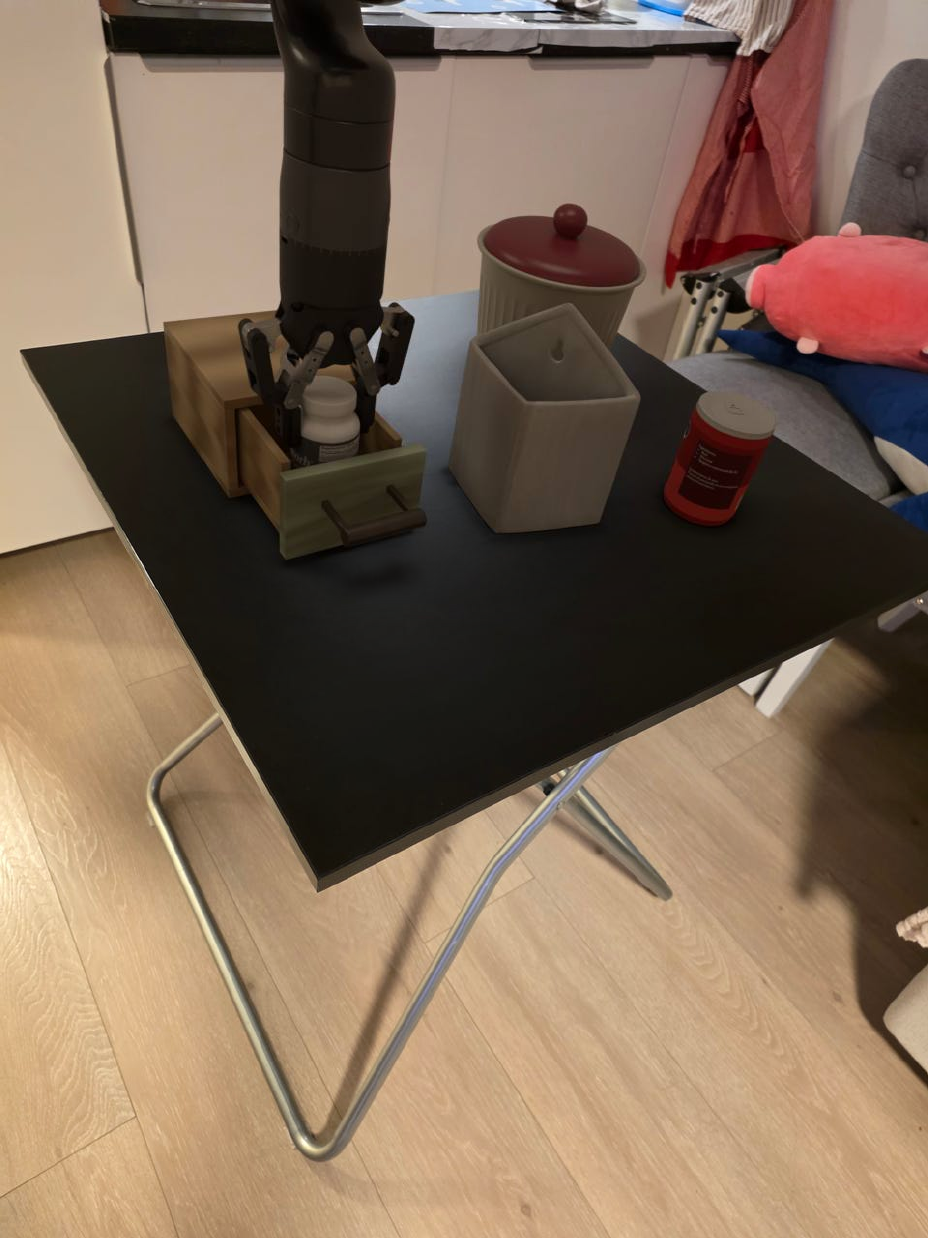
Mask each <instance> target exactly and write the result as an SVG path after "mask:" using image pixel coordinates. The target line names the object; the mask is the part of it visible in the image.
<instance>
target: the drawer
mask: <svg viewBox="0 0 928 1238" xmlns="http://www.w3.org/2000/svg"><path fill="white" fill-rule="evenodd" d="M298 406H299V404H298ZM235 430H236V451H237V473H238V476H239V477H240V478H241V480H242V481H243V483H244V484H245V485H246V487H247V488H248V490H249V491H250V492H251V494H250V495H251V496H252V497H253V499H254V500H255V501H256V503H257V504H258V505H259V507H260V508H261V509H262V511H263V513H265V515H266V517H267V518H268V519H269V521H270V522H271V524H272V525H273V526H274V528H275V529H276V531H277V532H278V533H279V553H280V555H282V557H283V558H284V560H285V561H288V560H291V559H295V558H299V557H302V556H307V555H310V554H313V553H317V552H322V551H325V550H328V549H332V548H336V547H339V546H344V547H345V548H351V547H354V546H358V545H362V544H365V543H370V542H373V541H377V540H380V539H381V540H382V539H384V538H388V537H391V536H395V535H400V534H402V533H406V532H410V531H414V530H417V529H421V528H424V527H426V526H427V523H428V519H427V515H426V512H425V510H424V509H423V508H422V507H420V501H421V494H422V488H423V487H422V486H423V479H424V474H425V473H424V472H425V466H426V458H427V452H428V451H427V449H426V448H425V446H424V445H422V444H421V443H420V442H419V443H414V444H409V445H405V446H404V445H403V437H402V436H401V435H400V434H399V433H398V432H397V431H396V430H395V428H394V427H392V426H391V425H390V424H389V422H387V420H386V419H385V418H384V417H383V416H382V415H380V413H379V412H378V411H377V410H375V421H374V423H373V425H372V426H369V432H368V433H366V434H361V435H359V445H358V456H356V457H351V458H346V459H342V460H337V461H332V462H327V463H323V464H318V465H313V466H308V467H304V468H299V469H294V470H290V469H291V461H290V447H289V446H288V444H287V443H285V442H284V441H283V440H282V439H281V437H280V436H279V435H278V434H277V432H276V429H275V404H273V405H271V406H266V405H265V404H260V405H254V406H248V407H242V408H236V409H235ZM402 445H403V446H402Z"/></svg>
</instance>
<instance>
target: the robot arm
mask: <svg viewBox="0 0 928 1238" xmlns="http://www.w3.org/2000/svg"><path fill="white" fill-rule="evenodd" d="M405 1H406V0H268V2H269V6H270V12H271V18H272V24H273V28H274V33H275V39H276V42H277V47H278V50H279V55H280V58H281V63H282V64H281V65H282V69H283V93H282V95H283V96H282V98H283V101H282V104H283V105H282V107H283V108H282V109H283V110H282V111H283V112H282V115H283V117H282V118H283V119H282V120H283V121H282V122H283V123H282V125H283V126H282V144H283V145H282V146H283V148H282V161H281V168H280V174H279V189H278V191H279V196H278V197H279V199H278V201H279V203H278V205H279V207H278V208H279V210H278V211H279V212H278V213H279V214H278V215H279V218H278V219H279V225H278V226H279V227H278V229H279V231H278V232H279V234H278V237H279V238H278V239H279V241H278V242H279V247H278V249H279V251H278V252H279V254H278V255H279V258H278V259H279V262H278V263H279V264H278V265H279V267H278V268H279V269H278V271H279V272H278V275H279V276H278V280H279V281H278V282H279V292H280V293H279V294H280V299H279V304H278V307H277V309H276V310H277V311H276V313H275V317H274V318H270V319H267V320H263V321H260V322H256V323H254V322H253V321H252V320H250V319H248V318H245V319H242V320H241V321H240V322H239V324H238V331H239V335H240V340H241V345H242V350H243V355H244V359H245V364H246V369H247V374H248V379H249V383H250V387H251V389H252V390H253V391H254V392H255V393H256V394H257V395H258V396H259V398H260V399H261V401H262V402H263V403H264V404H265V405H266V406H271V405H273V404H275V429H276V432H277V434H278V435H279V436H280V437H281V439H282V440H283V441H284V442H285V443H287V444H288V446H289V447H290V448H295V447H299V446H300V436H301V408H300V407H299V406H298V404H299V402H300V399H301V397H302V395H303V393H304V390H305V388H306V386H307V385H311V384H312V382H313V380H314V378H315V375H316V373H317V371H318V369H323V368H327V367H329V366H332V365H343V366H344V365H349V366H350V369H351V371H352V374H353V376H354V379H355V380H356V381H357V384H353V385H352V386H353V387H354V388H355V390H356V393H357V398H356V407H355V409H354V412H355V413H356V414H357V416H358V418H359V421H360V435H361V434H366V433H368V432H369V426H372V425H373V423H374V421H375V411H376V409H377V398H378V397H377V396H378V395H379V393H380V392H381V389H382V388H383V387H385V386H387V385H390V386H396V385H398V383H400V380H401V377H402V373H403V369H404V366H405V362H406V358H407V355H408V351H409V346H410V342H411V338H412V335H413V331H414V327H415V323H416V319H415V317H414V316H413V314H411V313H410V312H409V311H407V310H406V309H405V308H404V307H403V306H402V305H400V304H399V302H397V301H395V302H393V301H392V302H391V303H390V304H388V306H382V305H381V299H382V297H383V295H384V288H385V287H384V286H385V275H386V263H387V253H388V241H389V229H390V222H391V208H392V207H391V206H392V182H391V165H392V163H391V160H392V150H393V139H394V126H395V115H396V101H397V80H396V75H395V71H394V68H393V66H392V65H391V63H390V61H388V59H386V57H385V56H384V55H383V54H382V53H381V52H379V50H377V48H376V47H375V46H374V45H373V43H372V42H371V41H370V40H369V38H368V36H367V34H366V30H365V25H364V21H363V20H364V19H363V13H362V5H361V3H363V4H365V5H369V6H376V7H391V6H394V5H399V4H400V3H403V2H405ZM379 329H380V331H381V332H380V337H379V340H378V346H377V349H376V354H375V358H373V355H372V353H371V349H370V348H369V345H368V344H369V343H370V342H371V340H372V339H373V337H374V335H375V334H376V333H377V331H378V330H379ZM281 334H282V336H283V337H284V338H285V340H286V341H287V343H286V346H285V348H284V350H283V353H282V355H281V357H280V369H279V371H278V374H277V376H276V378H275V381H274V375H273V370H272V364H271V359H270V353H273V352H274V350H275V349H274V348H275V341H276V338H277V337H278V336H279V335H281ZM299 358H301V359H302V360H303V361H302V364H300V361H299Z"/></svg>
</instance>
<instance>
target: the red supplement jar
mask: <svg viewBox="0 0 928 1238" xmlns="http://www.w3.org/2000/svg"><path fill="white" fill-rule="evenodd" d="M777 424H778V423H777V418H776V417H775V415H774V414H773V413H772V411H771V410H770V409H769V408H767V407H766V406H765V405H764V404H762V403H761V402H759V401H757V400H755V399H753V398H751V397H749V396H746V395H744V394H741V393H737V392H734V391H727V390H710V391H706V392H704V393H702V394H701V395H700V396H699V398H698V400H697V402H696V404H695V406H694V409H693V412H692V414H691V416H690V419H689V421H688V424H687V426H686V429H685V432H684V435H683V437H682V439H681V442H680V445H679V446H678V449H677V452H676V455H675V457H674V460H673V462H672V465H671V467H670V470H669V473H668V475H667V477H666V480H665V483H664V485H663V486H664V487H663V499H664V500H663V501H664V502H665V504H666V506H667V507H668V508H669V509H670V511H672V512H673V513H674V514H675V515H676V516H678V517H680V518H681V519H684V520H685V521H687V522H689V523H692V524H695V525H698V526H704V527H717V526H721V525H724V524H725V523H727V522H729V521H730V519H731V518H732V517H733V516H735V513H736V512H737V510H738V508H739V505H740V503H741V502H742V499H743V497H744V495H745V493H746V491H747V489H748V487H749V485H750V483H751V481H752V479H753V477H754V475H755V473H756V470H757V469H758V466H759V464H760V463H761V460H762V459H763V457H764V454H765V452H766V450H767V449H768V446H769V444H770V442H771V440H772V438H773V435H774V433H775V430H776V428H777Z"/></svg>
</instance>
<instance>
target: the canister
mask: <svg viewBox="0 0 928 1238" xmlns="http://www.w3.org/2000/svg"><path fill="white" fill-rule="evenodd" d="M588 220H589V218H588V214H587V212H586V210H585V209H584V208H583V207H581V205H578V204H575V203H563V204H561V205H559V206H558V207H557V208H556V209H555V211H554V213H553V216H548V215H519V216H512V217H508V218H504V219H502V220H499V221H498V222H495V223H493V224H490V225H488V226H486V227H484V228H483V229H482V230H480V232H479V233H478V235H477V239H476V243H477V247H478V249H479V251H480V253H481V262H480V274H479V290H478V291H479V293H478V305H477V306H478V307H477V309H478V310H477V327H476V336H478V335H481V334H484V333H486V332H489V331H491V330H494V329H496V328H499V327H501V326H503V325H506V324H509V323H511V322H514V321H517V320H520V319H522V318H525V317H528V316H531V315H534V314H536V313H539V312H542V311H545V310H548V309H550V308H553V307H556V306H559V305H562V304H565V303H571V304H573V305H574V306H575V307H576V309H577V310H578V311H579V312H580V314H581V315H582V316H583V317H584V319H585V320H586V321H587V323H588V324H589V325H590V326H591V328H592V329H593V330H594V332H595V333H596V334H597V336H598V337H599V338H600V340H601V341H602V342H603V344H604V345H605V346H606V347H607V349H608V350H609V351H611V348H612V347H613V343H614V341H615V338H616V337H617V333H618V331H619V330H620V329H619V328H620V326H621V324H622V322H623V319H624V316H625V314H626V312H627V310H628V307H629V305H630V302H631V299H632V297H633V294H634V292H635V290H636V288H637V287H639V286H640V285H641V284H642V283H643V282H644V281H645V279H646V278H647V271H648V270H647V267H646V265H645V263H644V262H643V260H642V259H641V257H639V256H638V255H637V254H636V253H635V251H634V250H633V249H632V248H631V247H630V246H629V245H628V244H627V243H626V242H624V241H623V240H621V239H620V238H618V237H617V236H615V235H614V234H612V233H609V232H608V231H605V230H603V229H600V228H598V227H595V226H594V225H593V226H592V225H589V224H588V222H589V221H588ZM562 347H563V342H562V341H558V345H557V347H556V348H555V349H554V350H553V351H552V357H553V358H554V359H555V360H556V361H561V360H562V359H563V357H564V355H563V351H562Z"/></svg>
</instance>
